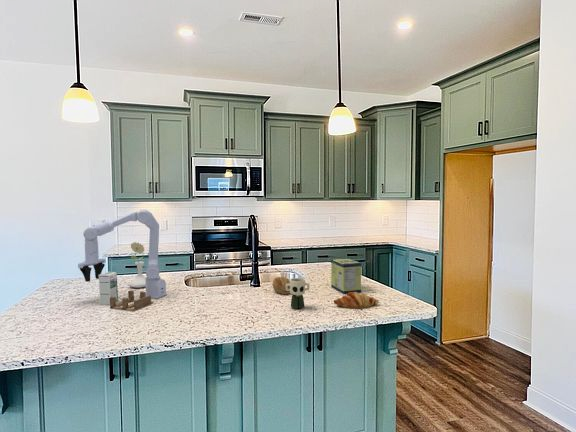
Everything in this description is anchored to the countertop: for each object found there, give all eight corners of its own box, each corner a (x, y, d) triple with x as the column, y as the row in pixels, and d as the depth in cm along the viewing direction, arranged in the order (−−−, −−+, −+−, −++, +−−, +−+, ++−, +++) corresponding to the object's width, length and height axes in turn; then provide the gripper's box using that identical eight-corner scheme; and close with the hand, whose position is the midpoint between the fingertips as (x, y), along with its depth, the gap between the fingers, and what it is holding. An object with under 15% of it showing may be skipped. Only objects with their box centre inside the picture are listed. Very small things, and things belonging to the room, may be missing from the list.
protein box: (347, 285, 210) (347, 258, 209) (361, 292, 195) (361, 263, 194) (330, 287, 207) (330, 259, 206) (343, 294, 192) (343, 264, 191)
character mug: (286, 310, 166) (286, 281, 165) (284, 305, 173) (284, 278, 172) (310, 309, 167) (310, 281, 167) (308, 304, 174) (307, 277, 174)
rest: (153, 302, 179) (153, 292, 178) (133, 311, 167) (133, 300, 166) (130, 300, 183) (130, 290, 183) (110, 308, 171) (109, 297, 171)
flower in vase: (155, 285, 212) (154, 241, 210) (137, 290, 202) (136, 244, 200) (140, 282, 219) (139, 240, 217) (123, 287, 209) (121, 242, 207)
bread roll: (277, 296, 189) (277, 281, 188) (269, 289, 203) (269, 274, 202) (295, 295, 192) (295, 279, 191) (286, 287, 206) (286, 273, 205)
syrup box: (110, 305, 176) (109, 274, 175) (99, 304, 177) (98, 274, 176) (118, 301, 182) (117, 271, 181) (107, 300, 183) (106, 271, 182)
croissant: (376, 310, 177) (373, 293, 180) (383, 306, 168) (380, 288, 171) (332, 311, 174) (330, 294, 177) (337, 307, 165) (335, 289, 168)
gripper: (97, 249, 189) (98, 276, 190) (72, 254, 175) (73, 282, 176) (108, 250, 187) (109, 277, 188) (83, 254, 173) (85, 283, 174)
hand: (92, 279), depth 182 cm, fingers open, 5 cm apart
